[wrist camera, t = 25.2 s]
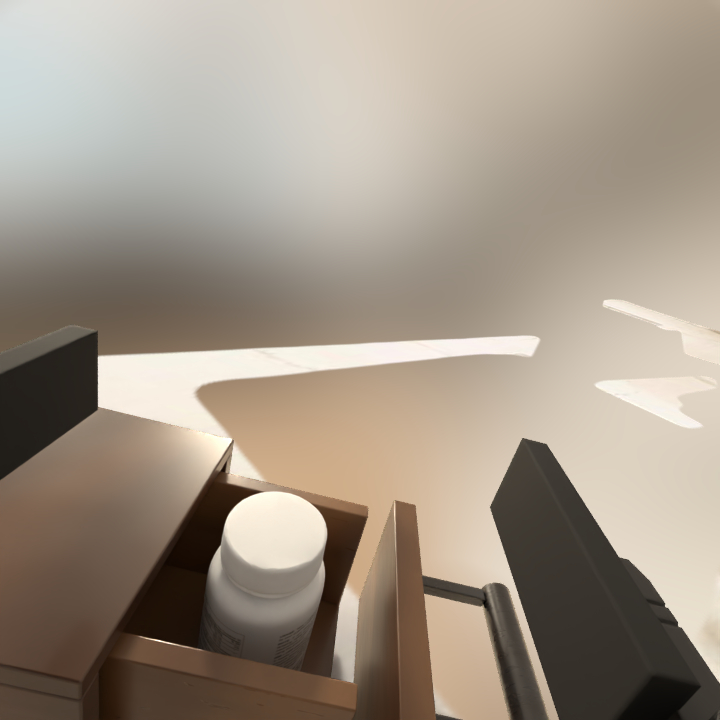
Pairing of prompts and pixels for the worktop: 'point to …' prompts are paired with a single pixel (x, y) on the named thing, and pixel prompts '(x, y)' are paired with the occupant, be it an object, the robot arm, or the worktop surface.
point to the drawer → (313, 682)
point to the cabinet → (89, 551)
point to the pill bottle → (265, 581)
